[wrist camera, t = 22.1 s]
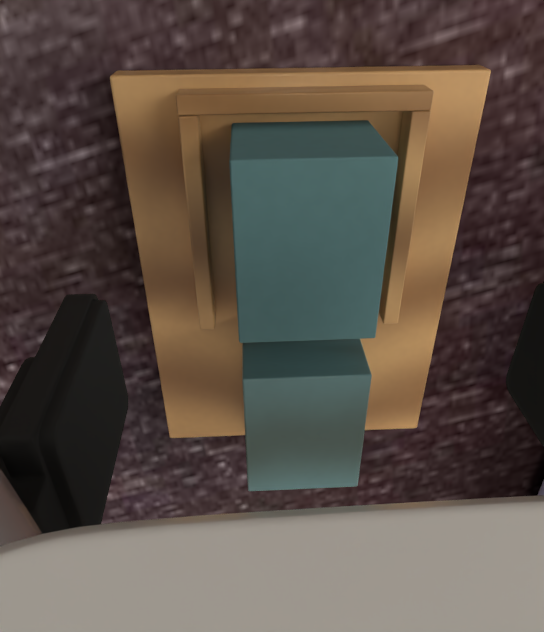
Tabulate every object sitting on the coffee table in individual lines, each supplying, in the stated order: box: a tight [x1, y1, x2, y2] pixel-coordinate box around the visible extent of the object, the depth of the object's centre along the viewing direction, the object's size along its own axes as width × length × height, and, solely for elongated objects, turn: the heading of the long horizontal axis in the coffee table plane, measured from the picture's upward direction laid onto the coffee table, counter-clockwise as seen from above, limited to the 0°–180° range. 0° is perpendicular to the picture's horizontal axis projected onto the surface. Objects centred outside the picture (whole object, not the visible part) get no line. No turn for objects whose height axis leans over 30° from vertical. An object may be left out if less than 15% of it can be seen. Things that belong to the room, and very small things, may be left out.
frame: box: [110, 65, 491, 491], centre depth 19 cm, size 16×12×5 cm
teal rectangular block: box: [229, 120, 398, 343], centre depth 17 cm, size 6×4×4 cm
